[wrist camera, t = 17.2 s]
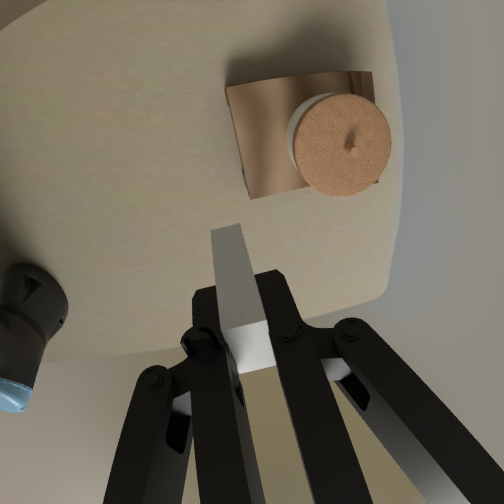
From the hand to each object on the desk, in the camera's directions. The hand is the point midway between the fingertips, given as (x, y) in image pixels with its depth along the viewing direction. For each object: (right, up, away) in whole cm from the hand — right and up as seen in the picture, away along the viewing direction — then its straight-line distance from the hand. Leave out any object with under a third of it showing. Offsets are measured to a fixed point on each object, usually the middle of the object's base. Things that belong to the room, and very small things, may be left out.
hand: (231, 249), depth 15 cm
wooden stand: (+7, +16, +20) cm, 27 cm away
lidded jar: (+9, +14, +17) cm, 24 cm away
